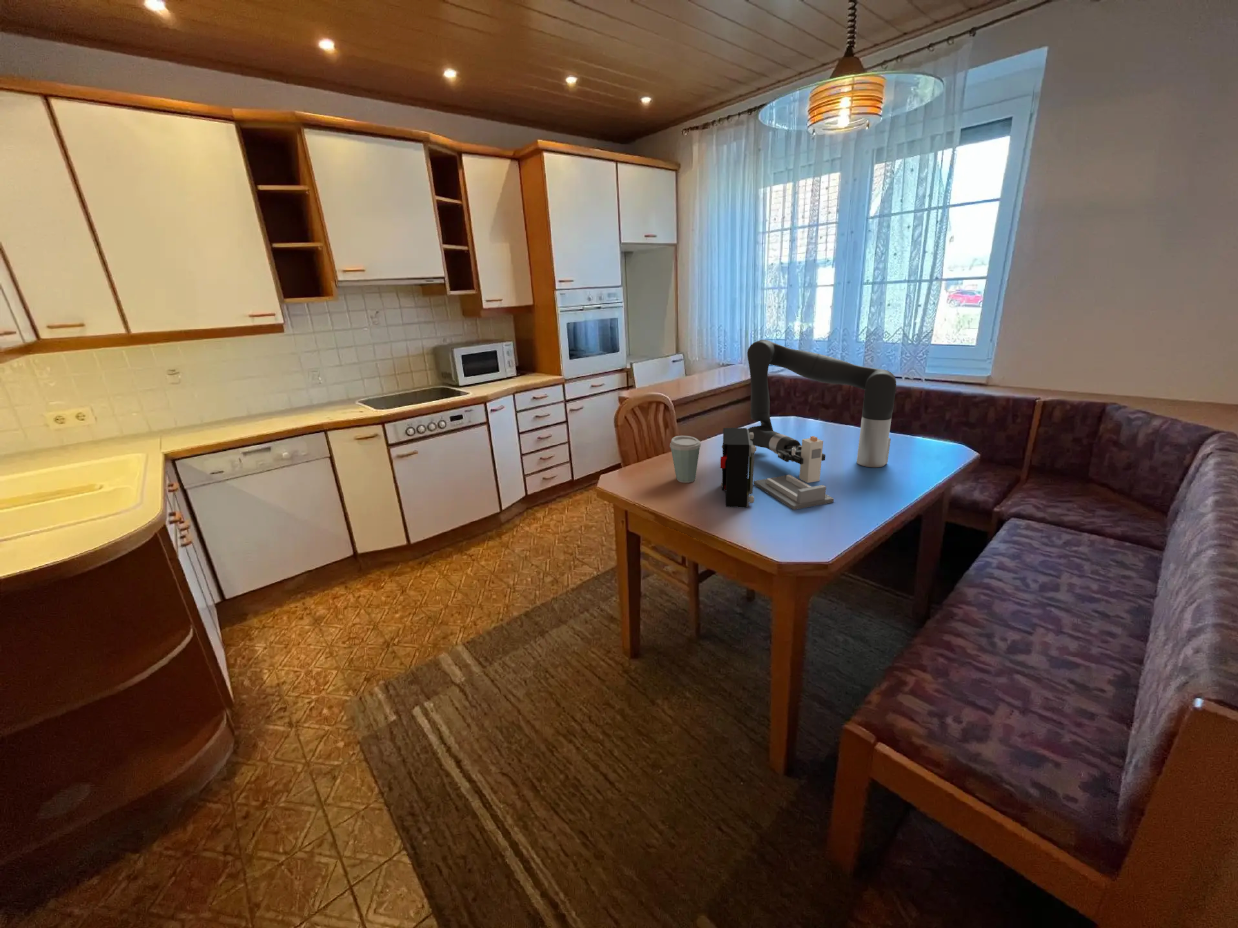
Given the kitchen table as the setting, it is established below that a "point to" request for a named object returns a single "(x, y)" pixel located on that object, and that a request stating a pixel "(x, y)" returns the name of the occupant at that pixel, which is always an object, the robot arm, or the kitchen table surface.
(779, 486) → the panel
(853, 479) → the kitchen table surface
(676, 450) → the disposable coffee cup
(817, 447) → the block
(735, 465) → the electrical component
